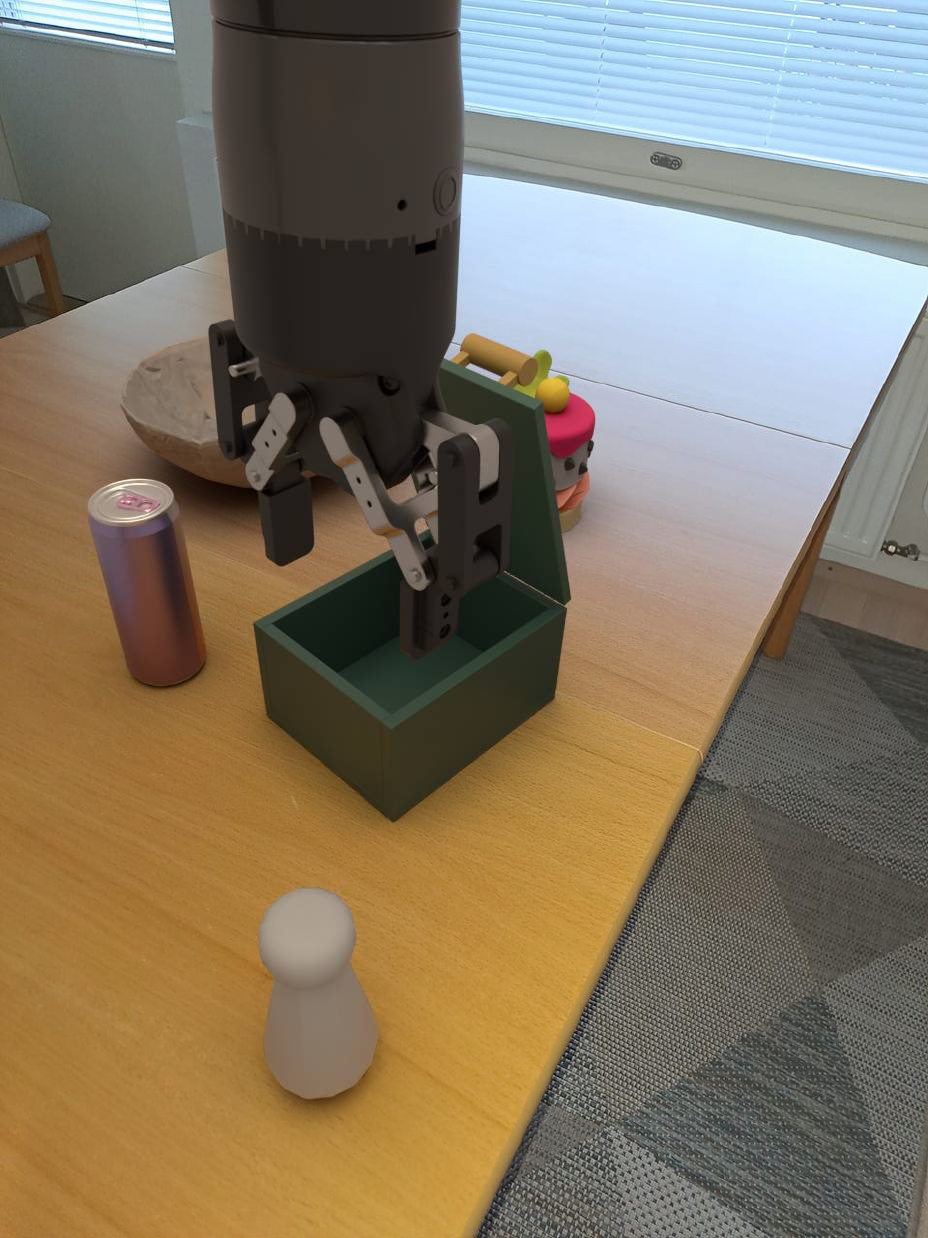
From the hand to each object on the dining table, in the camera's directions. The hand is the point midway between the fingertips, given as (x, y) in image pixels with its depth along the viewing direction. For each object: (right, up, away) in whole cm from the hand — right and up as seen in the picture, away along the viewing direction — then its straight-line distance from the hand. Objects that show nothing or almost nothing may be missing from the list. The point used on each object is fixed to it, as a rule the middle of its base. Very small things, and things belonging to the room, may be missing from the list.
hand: (354, 599), depth 39 cm
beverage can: (-18, -4, +32) cm, 38 cm away
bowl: (-16, +15, +57) cm, 61 cm away
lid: (+5, +9, +21) cm, 24 cm away
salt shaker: (-3, -24, +9) cm, 26 cm away
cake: (+11, +10, +51) cm, 54 cm away
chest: (+1, -7, +30) cm, 31 cm away
